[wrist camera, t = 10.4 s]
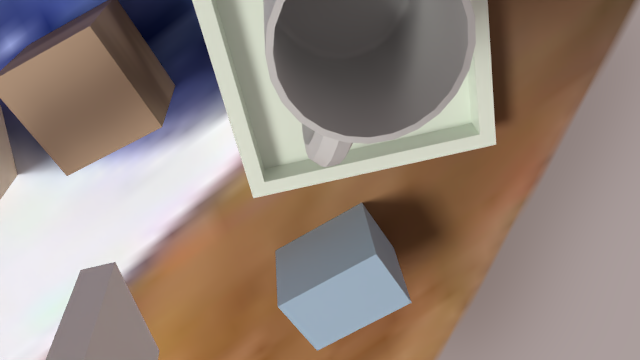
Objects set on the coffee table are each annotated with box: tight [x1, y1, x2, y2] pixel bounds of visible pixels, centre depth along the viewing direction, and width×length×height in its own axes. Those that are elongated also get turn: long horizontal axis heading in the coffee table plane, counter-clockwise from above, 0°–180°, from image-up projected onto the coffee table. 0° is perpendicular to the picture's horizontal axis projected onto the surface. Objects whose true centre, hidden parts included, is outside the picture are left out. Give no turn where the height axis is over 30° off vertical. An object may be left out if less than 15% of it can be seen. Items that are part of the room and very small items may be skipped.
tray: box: [192, 0, 496, 198], centre depth 28 cm, size 16×13×2 cm
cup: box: [263, 0, 476, 167], centre depth 25 cm, size 7×10×9 cm
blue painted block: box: [276, 203, 411, 350], centre depth 34 cm, size 4×6×5 cm, turn 121°
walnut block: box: [0, 0, 175, 176], centre depth 28 cm, size 5×5×5 cm
